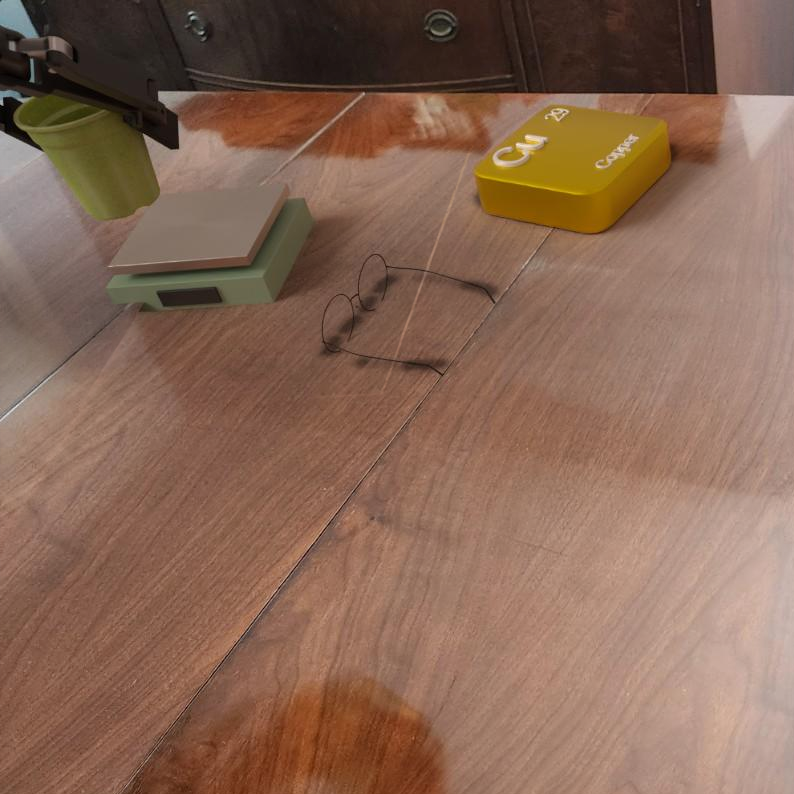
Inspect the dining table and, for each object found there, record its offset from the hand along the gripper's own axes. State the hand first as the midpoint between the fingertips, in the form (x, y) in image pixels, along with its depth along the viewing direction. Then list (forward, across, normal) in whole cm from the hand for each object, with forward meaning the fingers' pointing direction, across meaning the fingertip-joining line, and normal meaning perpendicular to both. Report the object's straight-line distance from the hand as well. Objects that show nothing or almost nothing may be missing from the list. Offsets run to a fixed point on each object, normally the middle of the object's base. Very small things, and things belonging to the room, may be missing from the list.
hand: (117, 137), depth 92 cm
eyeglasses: (+10, +21, -15) cm, 28 cm away
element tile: (+26, +33, +1) cm, 42 cm away
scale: (+19, -2, -6) cm, 20 cm away
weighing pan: (+16, -2, -3) cm, 17 cm away
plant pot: (+1, 0, -5) cm, 5 cm away
